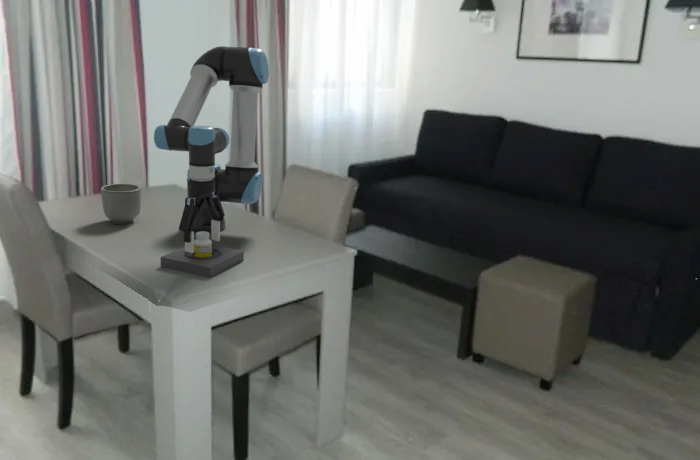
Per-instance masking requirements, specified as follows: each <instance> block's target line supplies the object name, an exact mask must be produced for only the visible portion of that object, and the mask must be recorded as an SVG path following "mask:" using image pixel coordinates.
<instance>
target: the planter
mask: <svg viewBox="0 0 700 460" xmlns="http://www.w3.org/2000/svg"><path fill="white" fill-rule="evenodd" d="M100 194H101V195H100V197H101V203H102V209H103V213H104V215H105V217H106V218H107V219H108V220H110V221H111V223H113V224H115V223H116V224H117V225H127V224H126V223H129V224H131V223H132V221H134V220H135V219H136V218H138V216H139V215H140V212H141V207H142V206H141V204H142V187H141V185H137V184H134V183H110V184H106V185H103V186H101V187H100ZM130 222H131V223H130ZM116 224H115V225H116Z"/></svg>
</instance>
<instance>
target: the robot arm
mask: <svg viewBox="0 0 700 460" xmlns="http://www.w3.org/2000/svg"><path fill="white" fill-rule="evenodd" d="M189 73H190V74H189V75H190V78H189V80H188V82H187V84H186V86H185V88H184V90H183V92H182V94H181V96H180V99H179V100H178V102H177V105H176V106H175V109H174V111H173V112H172V114H171V116H170V118H169V121H168V123H167V125H165V124H162V125H161V124H160V125H158V126H156V127H155V129H154V131H153V132H154V133H153V141H154V144H155V147H156V148H157V149H160V150H165V151H170V152H171V151H176V152H188V170H187V172H186V173H187V175H186V177H187V178H186V184H187V185H186V187H187V189H186V190H187V197H185V199H184V208H183V211H182V215H181V219H180V222H179V227H178V231H180V232H183V241H184V247H185V252H189V253H194V241H195V234H196V233H197V232H200V231H206V232H209V234H210V235H211V236H210V238H211V239H210V240H211V241H214V242H221V231H223V230H225V229H226V219H225V215H226V214H225V212H224V208H223V205H222V202H224V203H234V204H241V205H244V204H245V205H248V204H249V205H253V204H255V203H256V202H258V200H259V198H260V196H261V193H262V191H263V185H264V175H263V173H262V172H261V171H259V166H258V165H257V163H256V162H255V156H256V155H255V154H256V138H257V137H256V135H257V115H258V99H259V98H258V97H259V93H260V92H261V91H262V90H263V85H265V84H267V83H268V82H269V77H270V68H269V62H268V58H267V55H266V53H265V52H264V51H263V50H262V49H260V48H255V47H241V46H240V47H238V46H225V45H223V46H217V47H213V48H211V49H209V50H207V51H206V52H204V53H203V54H202V55H200V56H199V57H198V58H197V60H196V61H195V62H194V63H193V65H192V67H191V69H190V72H189ZM223 81H224V82H228V87H229V88H230V90H232V105H231V106H232V109H231V110H232V111H231V132H230V133H231V134H230V137H229V134H228V133H227V131H226V130H225V129H223V128H221V127H213V126H210V125H195V124H196V122H197V120H198V118H199V116H200V114H201V112H202V109H203V107H204V105H205V102H206V101H207V98H208V96H209V95H210V92H211V90H212V88H214V87H215V86H216V85H217V84H218V82H223ZM229 144H230V151H229V152H230V154H229V155H230V156H229V161H227V163H225V167H224V168H225V169H223V168H221V167H222V166H221V165H220V164H219V163H216V154H220V153H222V152H223V151H225V150H226V149H227V148H228V146H229Z"/></svg>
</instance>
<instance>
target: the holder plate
mask: <svg viewBox="0 0 700 460" xmlns="http://www.w3.org/2000/svg"><path fill="white" fill-rule="evenodd" d="M244 253H245V252H244V250H241V249H235V248H231V247H225V246H220V245H217V244H212V256H210V257H195V256H194V253H189V252H185V246H183V247H180V248H178V249H176V250H174V251H171V252H169V253H167V254H164V255H162V256H160V267H161V268H168V269H171V270H176V271H181V272H184V273H188V274H189V273H190V274H193V275H198V276H204V277H207V278H208V277H209V278H212V277H214V276H216V275H218V274H219V273H221V272H224V271H225V270H227V269H229V268H231V267H233V266H235V265H237V264H239V263H240V262H243V261H244V260H245V259H244V258H245V257H244Z"/></svg>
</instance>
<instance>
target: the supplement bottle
mask: <svg viewBox="0 0 700 460" xmlns="http://www.w3.org/2000/svg"><path fill="white" fill-rule="evenodd" d="M195 238H196V239H194V256H195V257H210V256H212V245H213V242H212V241H213V240H211V239H210V233H209V232H206V231H200V232H197V233H195Z"/></svg>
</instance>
